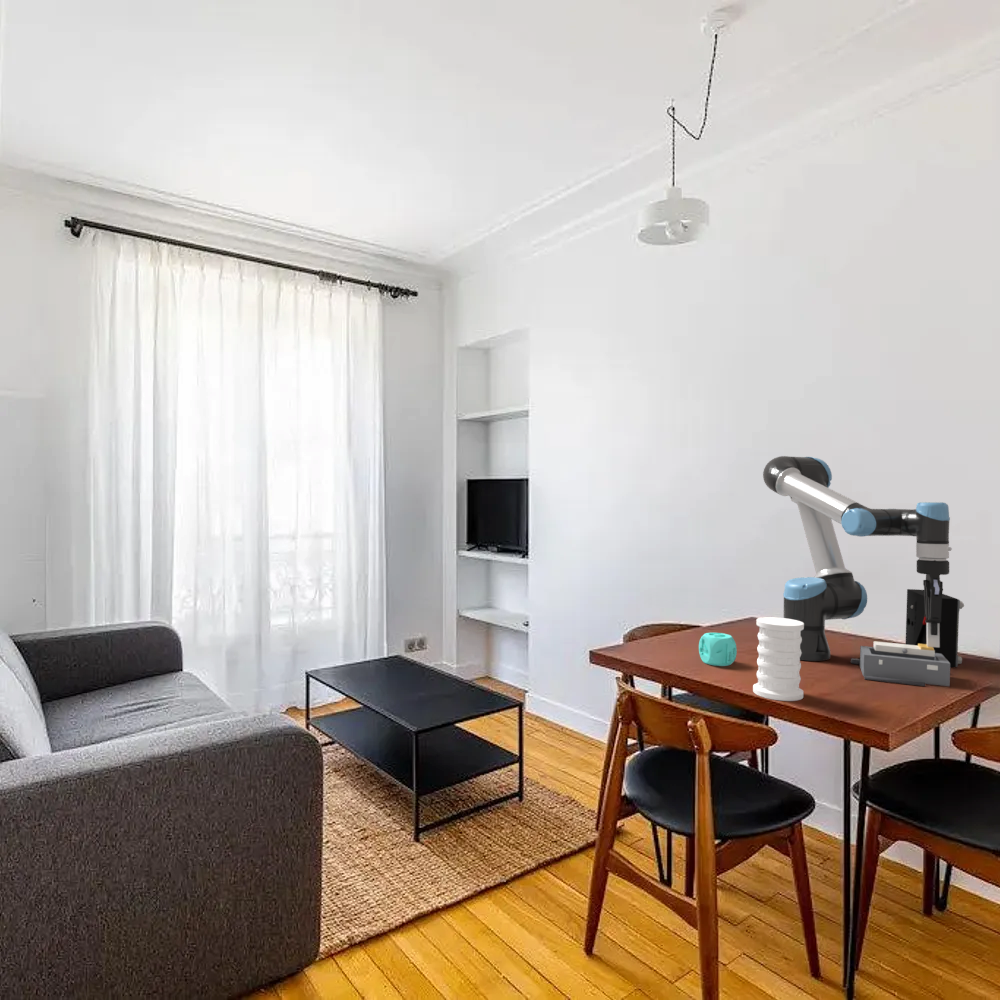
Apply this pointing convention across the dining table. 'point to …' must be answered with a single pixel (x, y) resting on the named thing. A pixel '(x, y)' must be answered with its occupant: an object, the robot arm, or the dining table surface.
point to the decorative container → (779, 659)
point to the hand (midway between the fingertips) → (932, 646)
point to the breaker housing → (905, 666)
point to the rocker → (905, 648)
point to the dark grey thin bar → (894, 680)
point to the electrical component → (947, 626)
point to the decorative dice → (717, 649)
